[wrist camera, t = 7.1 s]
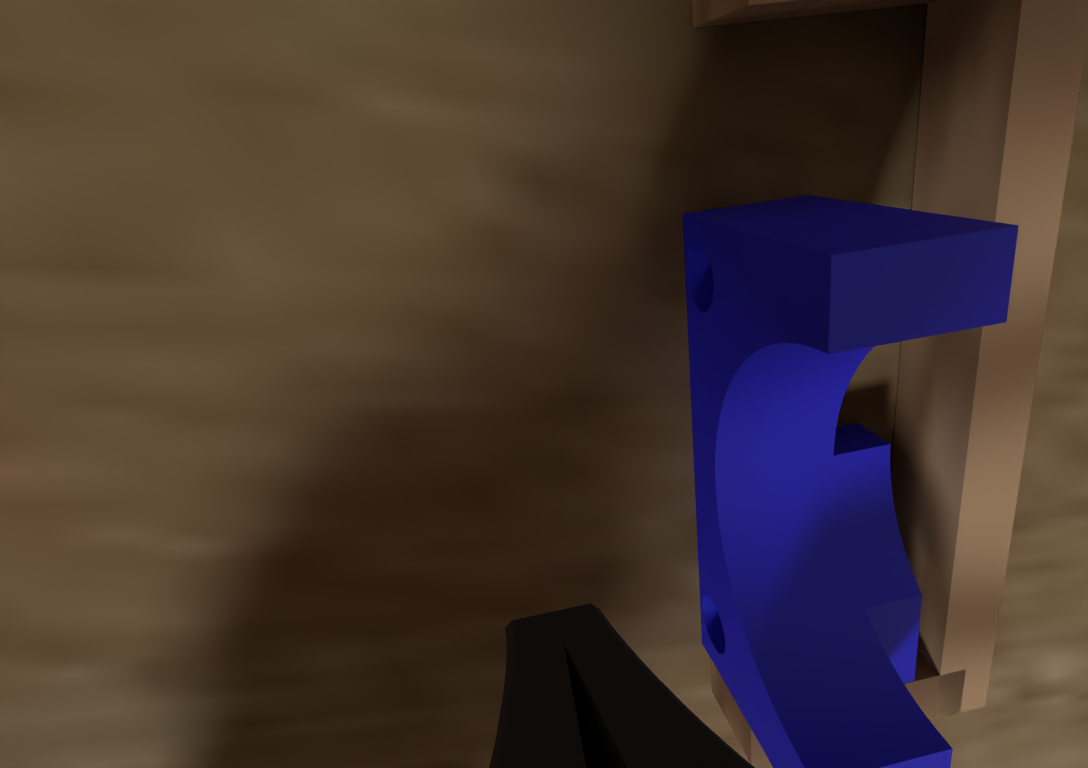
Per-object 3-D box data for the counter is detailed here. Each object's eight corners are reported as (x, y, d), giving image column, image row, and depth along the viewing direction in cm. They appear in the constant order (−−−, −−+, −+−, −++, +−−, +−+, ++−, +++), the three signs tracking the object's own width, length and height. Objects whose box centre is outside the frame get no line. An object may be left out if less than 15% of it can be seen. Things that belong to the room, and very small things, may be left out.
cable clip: (845, 606, 20) (1009, 783, 15) (699, 639, 20) (813, 837, 14) (864, 185, 16) (1108, 210, 10) (680, 212, 15) (831, 255, 10)
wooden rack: (921, 643, 21) (985, 706, 19) (712, 692, 20) (751, 764, 18) (999, -85, 14) (1113, -129, 12) (690, -58, 13) (748, -100, 11)
